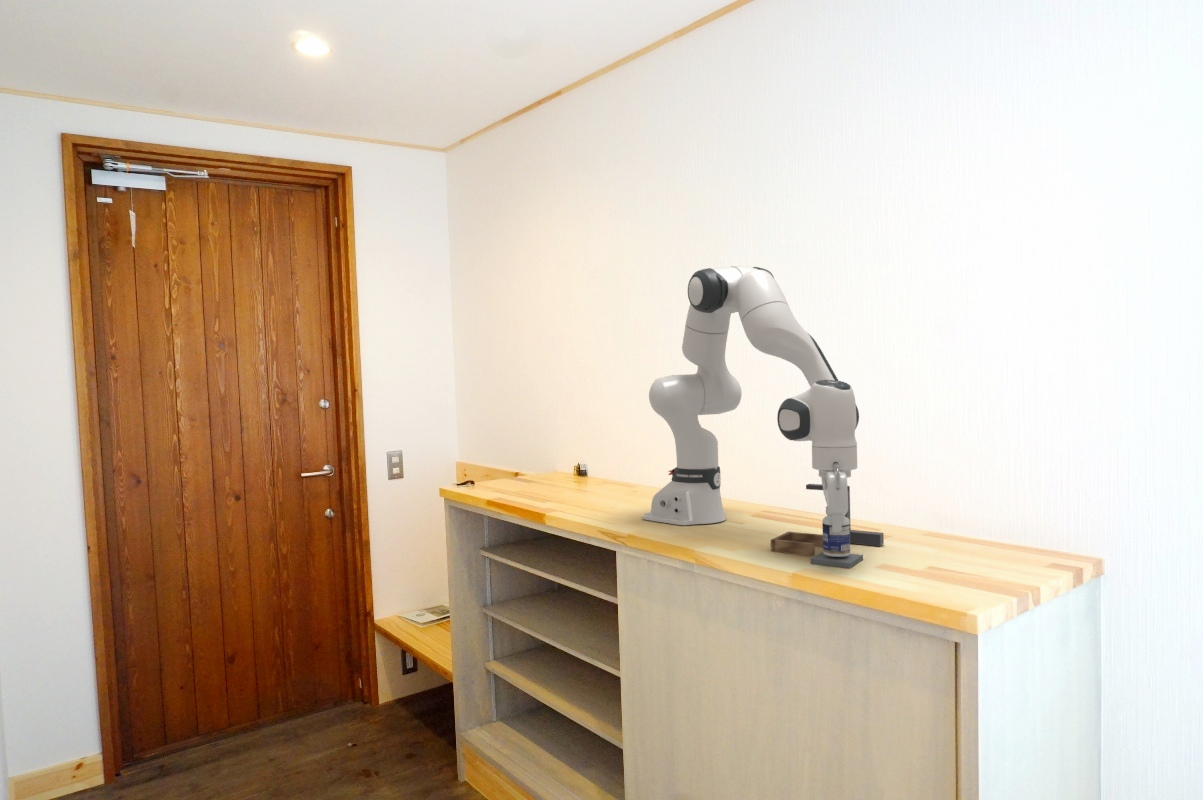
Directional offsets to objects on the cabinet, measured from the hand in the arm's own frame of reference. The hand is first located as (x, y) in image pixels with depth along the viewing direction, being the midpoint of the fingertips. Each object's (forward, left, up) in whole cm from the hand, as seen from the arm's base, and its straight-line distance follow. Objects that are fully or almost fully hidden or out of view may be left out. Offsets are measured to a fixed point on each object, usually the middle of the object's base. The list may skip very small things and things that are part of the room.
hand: (835, 527), depth 159 cm
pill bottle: (0, 0, -6) cm, 6 cm away
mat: (0, 0, -7) cm, 7 cm away
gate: (-5, +18, -7) cm, 20 cm away
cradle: (-10, +7, -7) cm, 14 cm away
